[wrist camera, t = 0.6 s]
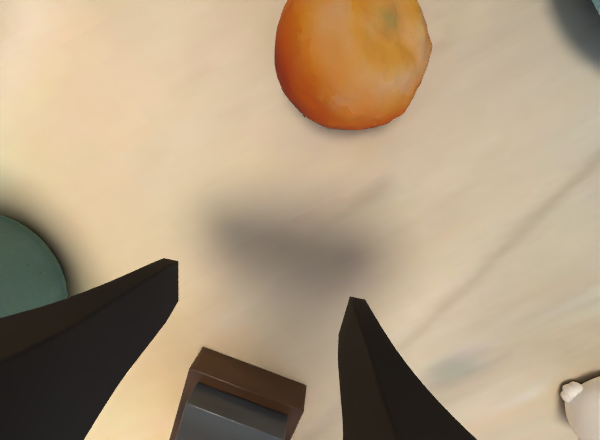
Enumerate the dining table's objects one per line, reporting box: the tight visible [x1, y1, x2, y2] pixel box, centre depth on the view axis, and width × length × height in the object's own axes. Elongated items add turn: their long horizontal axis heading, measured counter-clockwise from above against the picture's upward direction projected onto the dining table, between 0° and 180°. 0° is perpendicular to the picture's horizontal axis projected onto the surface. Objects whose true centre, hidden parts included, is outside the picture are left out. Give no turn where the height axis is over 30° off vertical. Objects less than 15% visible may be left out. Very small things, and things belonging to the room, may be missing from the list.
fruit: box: [275, 0, 432, 130], centre depth 15 cm, size 8×8×8 cm
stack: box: [170, 347, 306, 440], centre depth 24 cm, size 10×10×4 cm
